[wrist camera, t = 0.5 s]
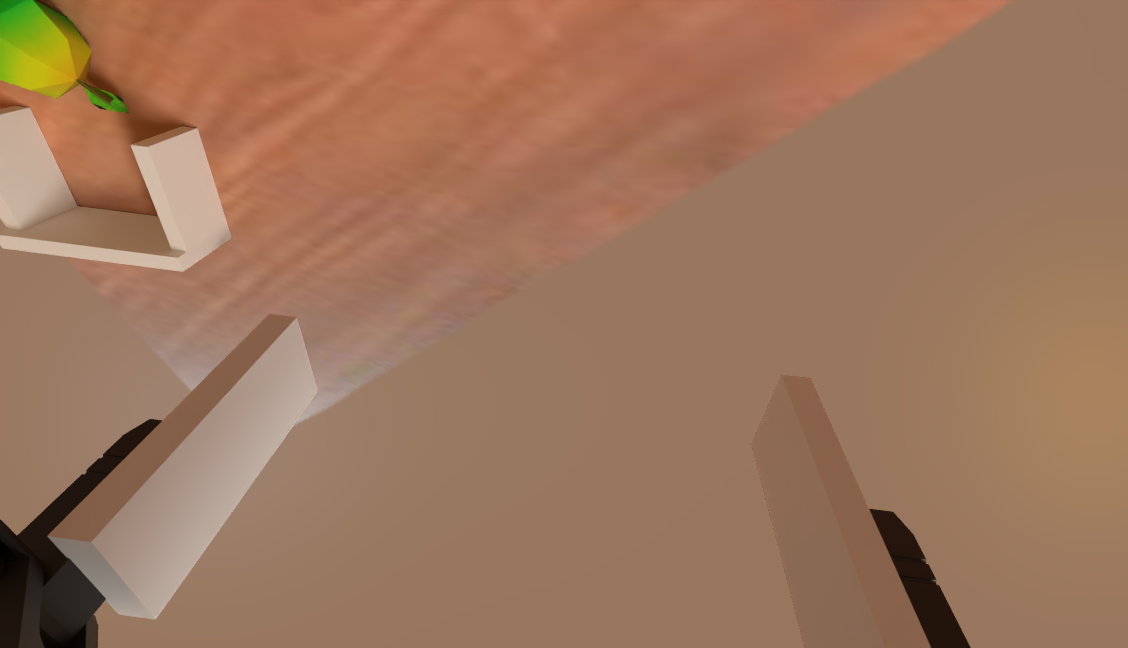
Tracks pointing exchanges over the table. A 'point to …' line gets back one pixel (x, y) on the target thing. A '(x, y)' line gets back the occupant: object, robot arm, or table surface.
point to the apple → (46, 53)
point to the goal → (59, 227)
